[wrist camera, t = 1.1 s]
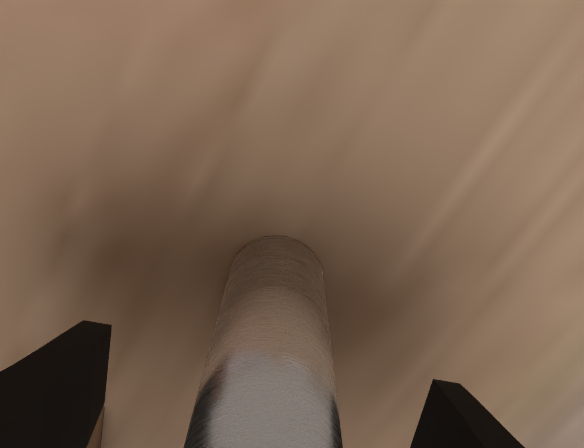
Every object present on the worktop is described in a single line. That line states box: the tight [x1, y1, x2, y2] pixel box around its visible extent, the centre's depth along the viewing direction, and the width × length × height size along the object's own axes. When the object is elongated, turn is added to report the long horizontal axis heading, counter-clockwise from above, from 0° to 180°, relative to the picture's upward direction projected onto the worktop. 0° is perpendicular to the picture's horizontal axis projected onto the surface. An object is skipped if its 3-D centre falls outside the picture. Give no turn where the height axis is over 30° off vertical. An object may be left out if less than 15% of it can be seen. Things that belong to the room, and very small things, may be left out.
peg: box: [184, 236, 343, 448], centre depth 14 cm, size 3×3×9 cm
